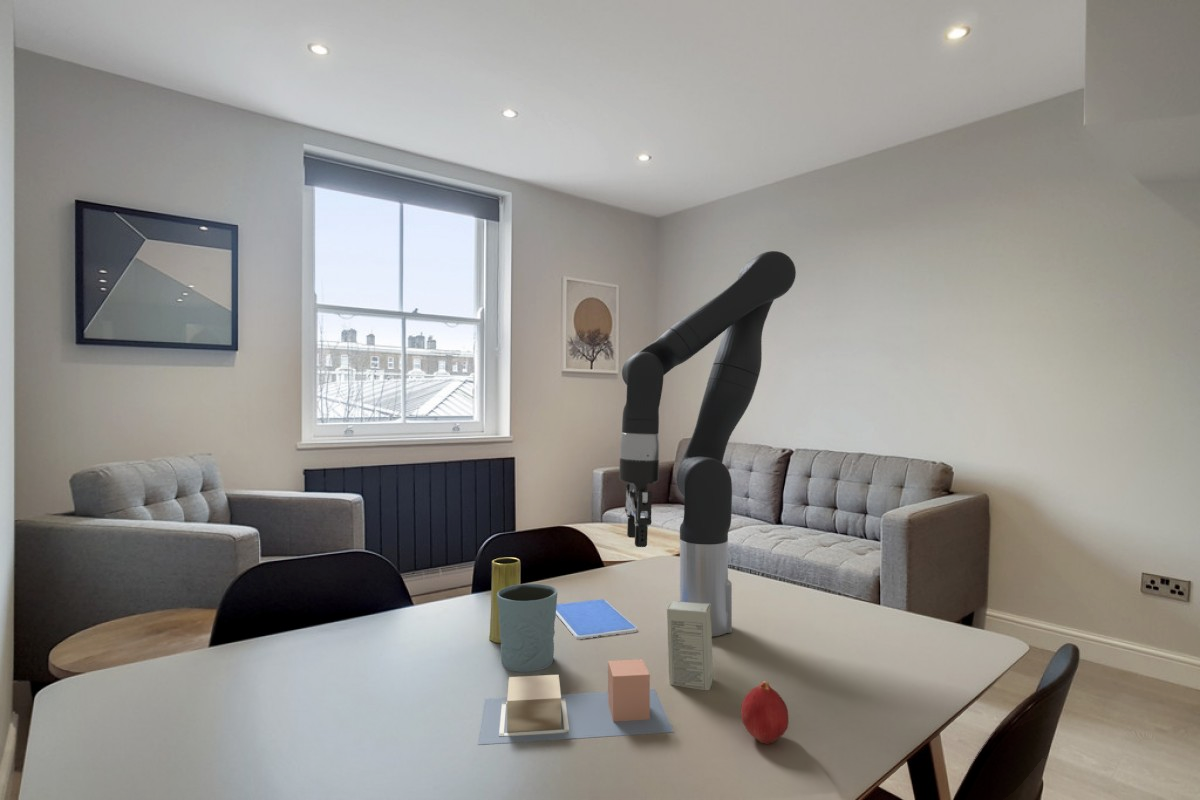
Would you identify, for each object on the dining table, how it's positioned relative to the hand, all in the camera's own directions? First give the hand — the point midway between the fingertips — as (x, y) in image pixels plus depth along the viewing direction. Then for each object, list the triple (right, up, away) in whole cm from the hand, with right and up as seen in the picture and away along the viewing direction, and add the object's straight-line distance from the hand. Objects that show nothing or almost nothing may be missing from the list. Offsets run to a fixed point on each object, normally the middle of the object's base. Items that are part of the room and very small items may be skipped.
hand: (636, 541), depth 115 cm
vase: (-25, -17, -3) cm, 30 cm away
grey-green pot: (-19, -17, -15) cm, 30 cm away
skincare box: (+7, -17, -23) cm, 29 cm away
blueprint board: (-11, -17, -33) cm, 38 cm away
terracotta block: (-3, -16, -32) cm, 36 cm away
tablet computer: (-9, -18, +7) cm, 21 cm away
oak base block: (-16, -16, -33) cm, 40 cm away
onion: (+14, -17, -39) cm, 44 cm away
